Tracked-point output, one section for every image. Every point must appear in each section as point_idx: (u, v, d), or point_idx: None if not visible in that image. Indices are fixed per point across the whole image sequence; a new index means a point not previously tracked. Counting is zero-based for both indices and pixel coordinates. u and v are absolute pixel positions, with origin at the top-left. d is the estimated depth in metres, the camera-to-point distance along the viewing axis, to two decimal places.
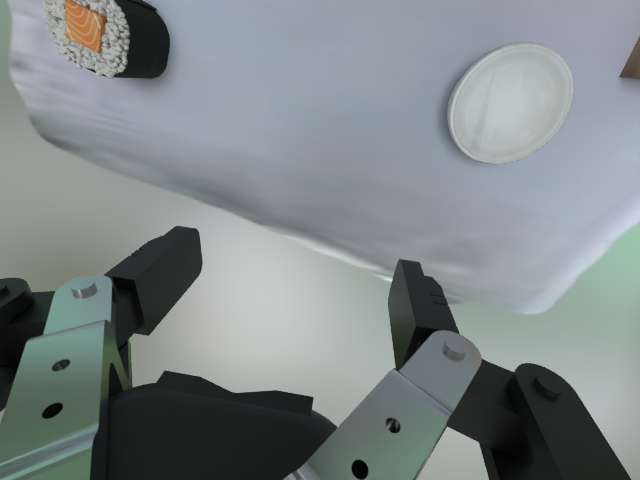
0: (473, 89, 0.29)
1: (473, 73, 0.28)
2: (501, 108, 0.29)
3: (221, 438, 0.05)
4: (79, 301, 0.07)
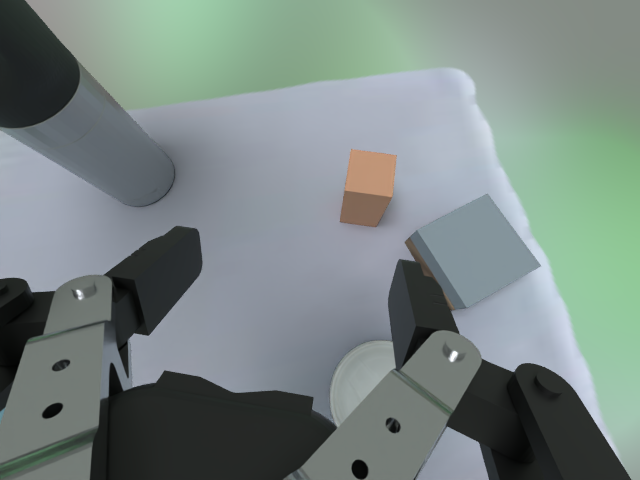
0: (344, 401, 0.30)
1: (334, 391, 0.30)
2: None
3: (221, 438, 0.05)
4: (79, 301, 0.07)
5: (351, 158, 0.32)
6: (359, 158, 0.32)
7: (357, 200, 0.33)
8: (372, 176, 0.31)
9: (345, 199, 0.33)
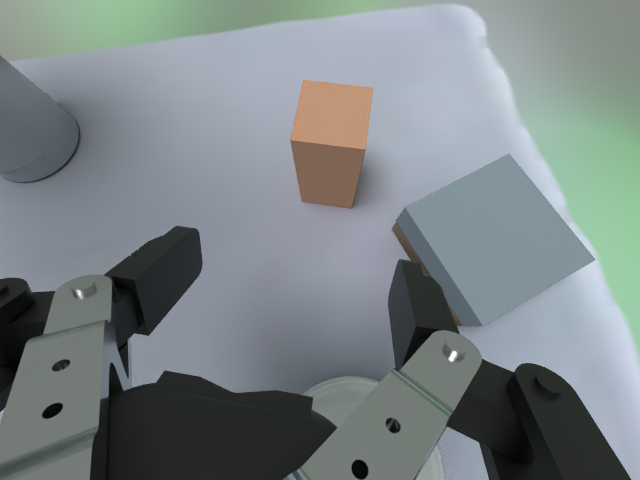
0: None
1: None
2: None
3: (221, 438, 0.05)
4: (79, 301, 0.07)
5: (303, 93, 0.21)
6: (315, 93, 0.20)
7: (315, 159, 0.21)
8: (335, 118, 0.20)
9: (296, 158, 0.22)
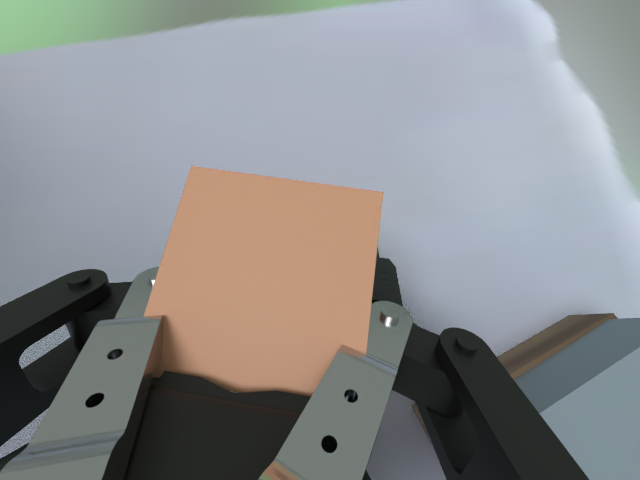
0: None
1: None
2: None
3: (221, 438, 0.05)
4: None
5: (186, 207, 0.07)
6: (221, 209, 0.07)
7: None
8: (270, 294, 0.07)
9: None
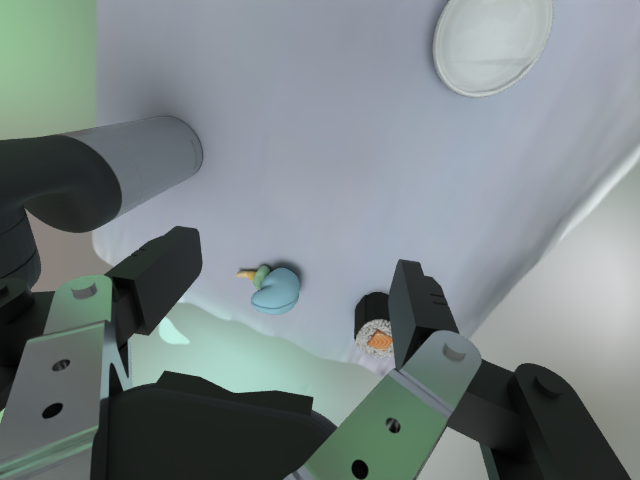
0: (464, 77, 0.32)
1: (450, 81, 0.32)
2: (489, 45, 0.30)
3: (221, 438, 0.05)
4: (79, 301, 0.07)
5: None
6: None
7: None
8: None
9: None
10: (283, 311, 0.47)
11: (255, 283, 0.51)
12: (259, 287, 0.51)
